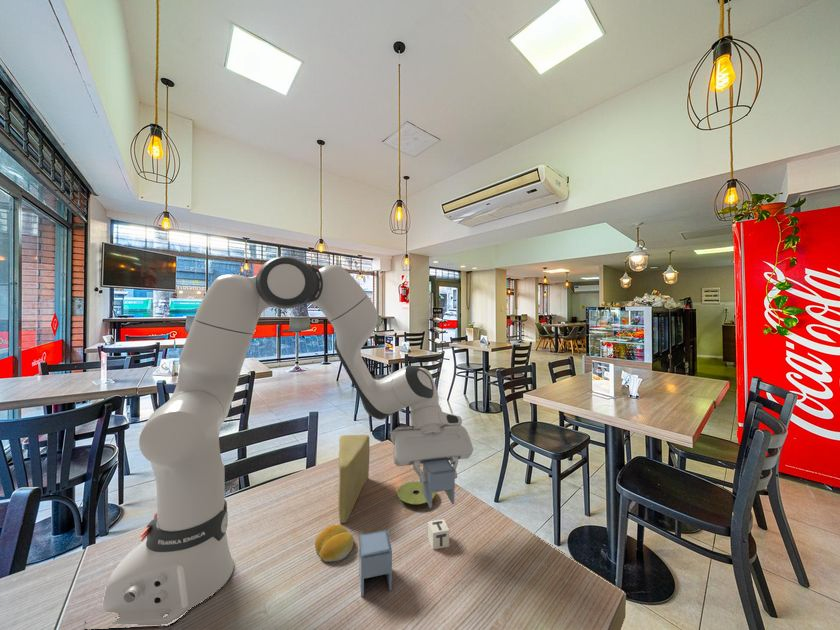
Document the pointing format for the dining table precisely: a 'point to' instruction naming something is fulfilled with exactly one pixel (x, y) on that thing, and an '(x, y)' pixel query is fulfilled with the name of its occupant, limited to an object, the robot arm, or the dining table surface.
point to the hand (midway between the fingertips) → (439, 480)
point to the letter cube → (438, 534)
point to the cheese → (352, 471)
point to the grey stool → (438, 478)
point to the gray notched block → (375, 557)
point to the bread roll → (334, 543)
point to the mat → (412, 493)
